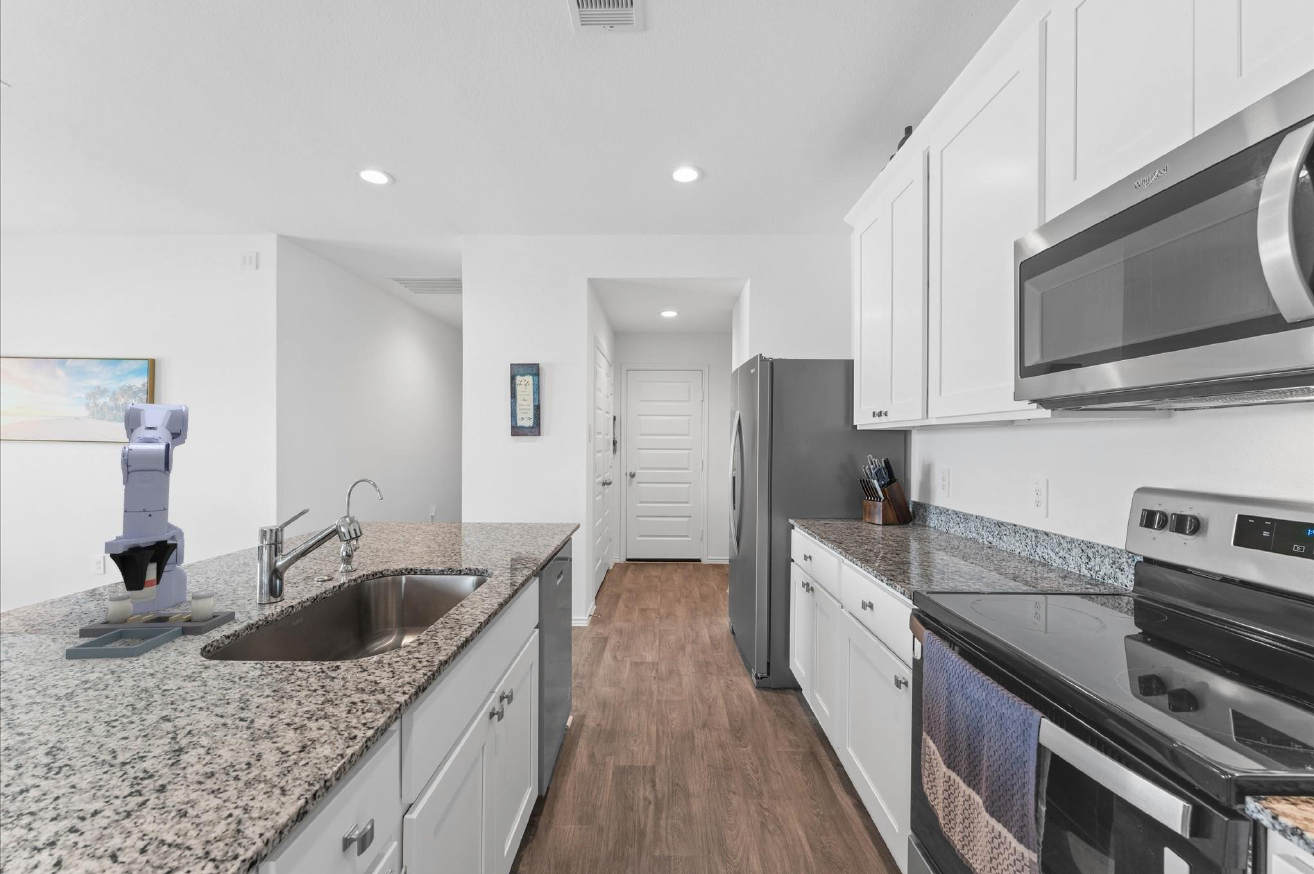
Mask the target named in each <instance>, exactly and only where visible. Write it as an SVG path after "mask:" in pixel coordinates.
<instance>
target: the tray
mask: <svg viewBox="0 0 1314 874" xmlns="http://www.w3.org/2000/svg"><path fill="white" fill-rule="evenodd" d="M182 636H183V635H182V627H172V628H130V629H119V630H116V631H113V632H111V633H108V634H105V635H103V636H100V637H94V638H92V639H89V640H86V641H85V642H82V643H78V644H76V645H74V646H71V647H69V648H66V649H65V660H78V659H79V660H81V659H87V660H88V659H115V658H116V659H117V658H118V659H119V658H136V657H138V656H141V655H142V654H143V655H144V654H145V653H147V652H149V651H153V650H154V649H157V648H158V647H159V648H160V647H161V646H163V645H165V644H167V643H170V642H172V641H174V640H176V639H179V638H181V637H182ZM121 639H148V640H146V641H144V642H143V641H142V642H141V643H139V644H136V645H130V646H129V645H127V646H126V645H125V646H106V645H109V644H112V643H114V642H116V641H118V640H121Z"/></svg>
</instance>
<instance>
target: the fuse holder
mask: <svg viewBox="0 0 1314 874" xmlns="http://www.w3.org/2000/svg"><path fill="white" fill-rule="evenodd" d="M234 620H236V611H233V610H231V611H229V610H227V611H223V610H222V611H213V619H211V620H209V621H207V622H191V611H184V612H181V611H180V612H179V611H178V612H177V611H176V612H143V613H132V617H131V618H129V619H127V622H126V623H123V624H108V618H107V619H106V618H105V619H103V620H101V621H98V622H95V623H92V624H90V625H86V626H83V627H80V628H79V629H78V631H79V633H78V638H80V639H81V638H97V637H100V636H103V635H105V634H108V633H111V632H113V631H116V630H119V629H130V628H172V627H182V636H196V635H197V636H201V635H205V634H206V633H209V632H210V631H213V630H214V629H217V628H219V627H221V626H223V625H225V624H227V623H229V622H230V623H231V622H232V621H234Z"/></svg>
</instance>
